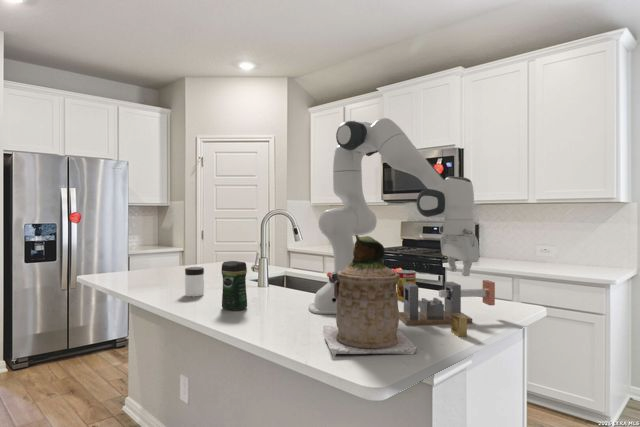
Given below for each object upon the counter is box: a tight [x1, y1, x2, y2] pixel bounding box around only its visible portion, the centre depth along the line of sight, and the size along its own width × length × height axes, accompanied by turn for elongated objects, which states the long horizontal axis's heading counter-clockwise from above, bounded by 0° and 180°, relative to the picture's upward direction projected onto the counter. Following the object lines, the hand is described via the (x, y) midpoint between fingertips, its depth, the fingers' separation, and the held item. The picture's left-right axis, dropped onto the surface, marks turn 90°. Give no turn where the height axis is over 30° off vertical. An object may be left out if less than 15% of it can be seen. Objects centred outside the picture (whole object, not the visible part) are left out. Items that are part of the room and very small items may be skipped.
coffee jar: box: [220, 260, 248, 311], centre depth 174 cm, size 10×8×19 cm
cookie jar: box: [322, 234, 418, 356], centre depth 131 cm, size 25×25×32 cm
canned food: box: [396, 269, 417, 302], centre depth 189 cm, size 8×8×12 cm
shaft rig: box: [399, 281, 473, 326], centre depth 156 cm, size 23×12×12 cm, turn 96°
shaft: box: [438, 279, 496, 306], centre depth 157 cm, size 19×5×8 cm, turn 96°
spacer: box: [450, 313, 468, 338], centre depth 138 cm, size 2×6×6 cm, turn 6°
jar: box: [184, 266, 205, 298], centre depth 201 cm, size 9×8×12 cm
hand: (459, 273), depth 138 cm, fingers open, 8 cm apart
